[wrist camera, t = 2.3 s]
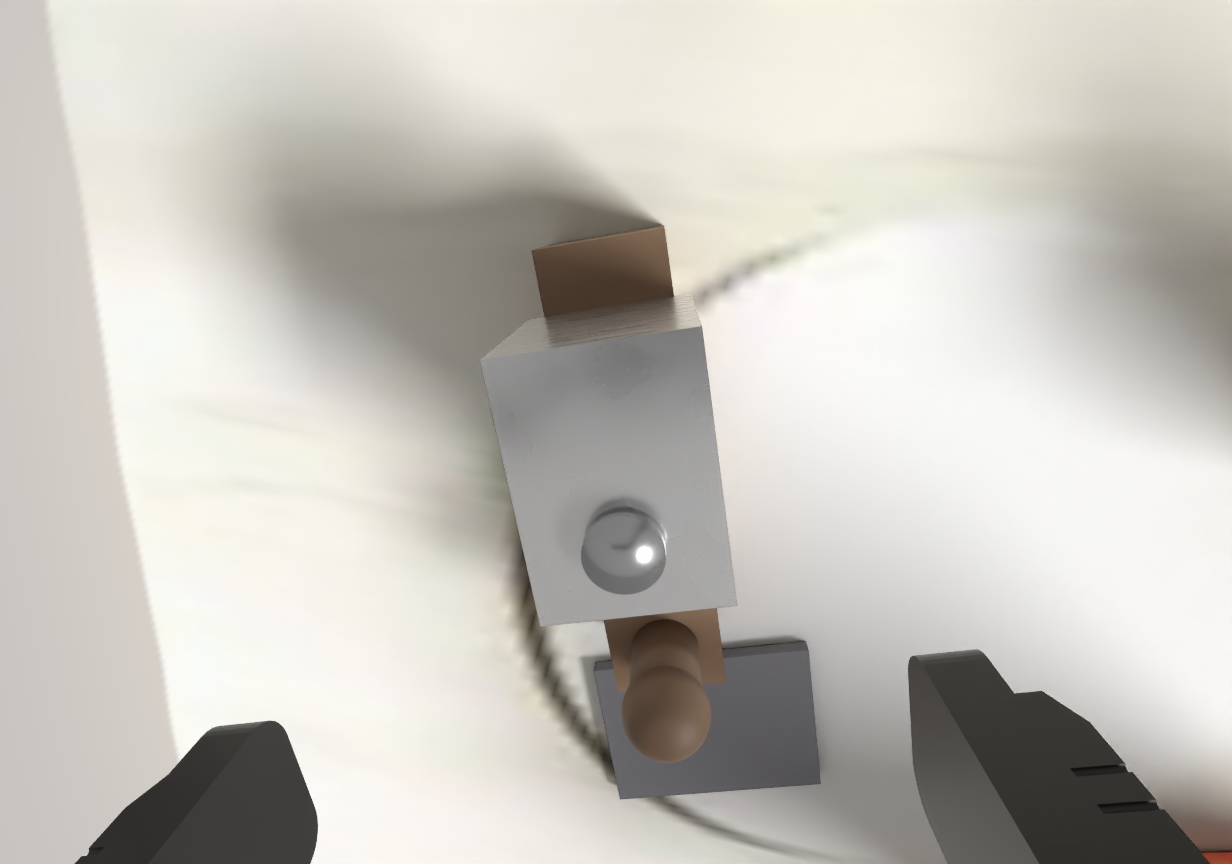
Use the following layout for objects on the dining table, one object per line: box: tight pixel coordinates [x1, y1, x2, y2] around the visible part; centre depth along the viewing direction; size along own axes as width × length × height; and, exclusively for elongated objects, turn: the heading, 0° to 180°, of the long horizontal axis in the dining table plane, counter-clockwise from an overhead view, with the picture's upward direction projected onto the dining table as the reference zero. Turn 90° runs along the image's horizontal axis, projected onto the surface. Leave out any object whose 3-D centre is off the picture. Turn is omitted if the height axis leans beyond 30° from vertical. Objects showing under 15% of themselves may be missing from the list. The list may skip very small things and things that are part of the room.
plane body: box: [532, 225, 726, 763], centre depth 22 cm, size 16×4×9 cm, turn 9°
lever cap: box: [480, 294, 737, 627], centre depth 19 cm, size 7×5×7 cm
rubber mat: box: [594, 641, 821, 799], centre depth 30 cm, size 7×9×1 cm
